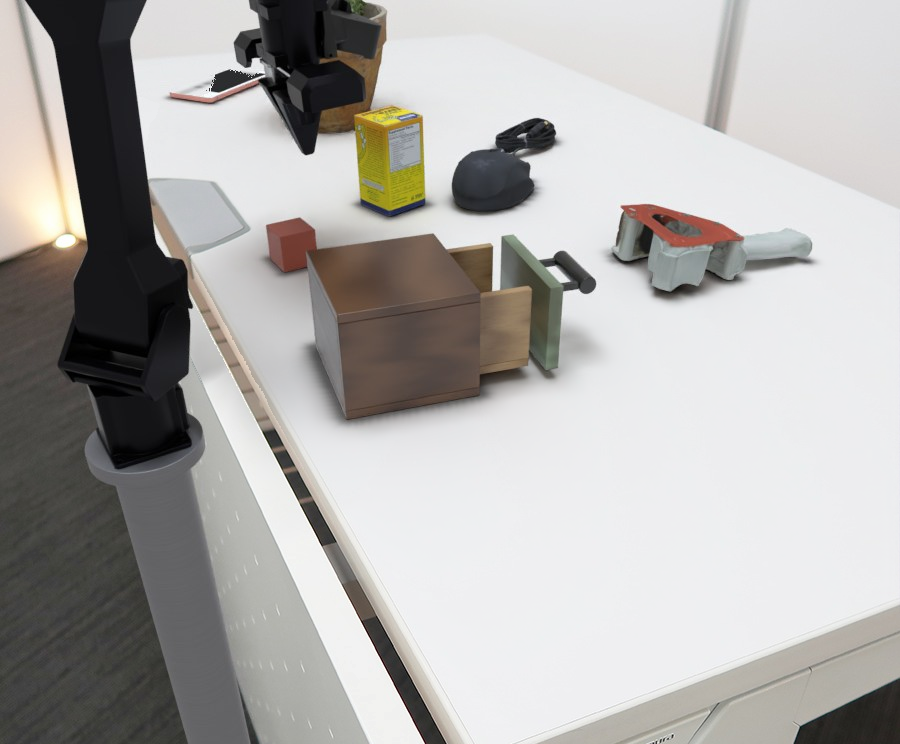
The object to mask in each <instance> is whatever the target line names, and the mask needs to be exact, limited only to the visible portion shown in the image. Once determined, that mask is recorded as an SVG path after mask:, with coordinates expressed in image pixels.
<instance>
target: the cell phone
mask: <svg viewBox="0 0 900 744" xmlns="http://www.w3.org/2000/svg"><path fill="white" fill-rule="evenodd" d="M230 70H231V69H229V68H227V69H224V70H222V71H218V72H216V73H217V74H216V73H214V74H215V77H214V78H215V79H216V80H215V79H214V82H213V80H212V82H213V83H214V84H213V86H212V84H211V86H212V88H211V93H210V88H209V93H208V94H204V97H200V96H193V95H186V94H179V93H172V92H169V96H170V97H171V98H174V99H175V98H176V99H183V100H190V101H196V102H202V103H214V102H216V101H219V100H222V99H223V98H225V97H226V98H227V97H229V96H231V95H233V94H236V93H238V92H240V91H243V90H245V89H248V88H251V87H253V86H255V85H257V84H258V85H259V83H258V80H259V79H260V78H261V77H262V78H265V70H264V69H262V70H263V71H259V74H257V73H258V72H257V73H256V74H255V76H254V75H253V76H251V75H250V74H249V75H250V76H249V75H248V74H247V75H246V73H244V74H243V73H242V72H241V71H240V72H238V71H236V70H235V71H236V73H235V71H233V70H231V71H230ZM240 73H241V74H240ZM248 76H249V77H248ZM251 77H252V78H251ZM258 78H259V79H258ZM255 79H257V80H255ZM253 80H255V81H253ZM251 81H252V82H251ZM249 82H250V83H249ZM244 84H245V85H244ZM206 91H207V90H206ZM202 96H203V95H202ZM207 97H208V98H207ZM211 97H212V98H211Z"/></svg>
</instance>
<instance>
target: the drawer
mask: <svg viewBox="0 0 900 744" xmlns="http://www.w3.org/2000/svg"><path fill="white" fill-rule="evenodd" d="M500 237H501V238H500V239H501V240H500V241H501V242H500V243H501V244H500V275H499V276H500V278H499V289H498V290H493V276H494V269H493V268H494V245H493V244H492V243H491V242H488V243H480V244H474V245H467V246H460V247H459V246H458V247H452V248H446V250H447V251H448V252H449V254H450V255H451V256H452V257H453V259H454V260H455V261H456V262H457V264H458V265H459V266H460V267H461V269H462V270H463V271H464V273H465V274H466V275H467V276H468V278H469V279H470V280H471V281H472V283H473V284H474V285H475V286H476V288H477V289H478V290H479V292H480V293H481V300H480V302H481V308H480V375H485V374H488V373H489V374H490V373H495V372H501V371H506V370H513V369H517V368H524V367H529V361H530V360H529V359H530V358H529V356H530V353H531V355H533V356H534V358H535V359H536V360H537V361H538V363H539V364H540V365H541V366H542V368H543V369H544V370H545V371H549V370H553V369H558V368H559V356H560V343H561V328H562V314H563V301H564V292H570V291H576V290H578V291H579V292H580V293H581V294H583V295H589V294H591V293H593V292H594V291H595V290H596V287H597V281H596V279H595V278H594V277H593V275H591V274H590V273H589V272H588V270H586V269H585V268H584V267H583V266H582V265H581V264H580V263H579V262H578V261H577V260H576V259H575V258H574V257H573V256H572V255H570V254H569V253H568V251H565V250H559V251H557V252H555V254H554V255H553V256H552V257H550V258H549V257H548V258H542V259H538V258H537V257H536V256H535V255H534V254H533V253H532V252H531V251H530V249H528V247H526V246H525V245H524V244H523V243H522V242H521V241H520V239H519V238H518V237H517V236H516V235H515V234H513V233H512V234H506V235H501V236H500ZM551 267H552V268H553V267H556V268H557V269H558V270H559V272H561V274H562V275H563V276H564V277H565V278H566V279H567V280H568V281H566V282H560V281H559V280H558V279H557V277H555V276H554V275H553V274H552V273H551V272H550V271H549V270H548V268H551Z"/></svg>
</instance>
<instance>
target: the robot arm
mask: <svg viewBox="0 0 900 744" xmlns="http://www.w3.org/2000/svg"><path fill="white" fill-rule="evenodd" d="M147 1H148V0H24V2H25V3H26V5H27V6H28V7H29V9H30V11H32V13H33V15H34V16H35V18H36V19H37V20H38V22H39V24H40V25H41V26H42V28H43V30H45V32H46V34H47V35H48V36H49V38H50V40H51V42H52V45H53V49H54V54H55V59H56V66H57V72H58V79H59V84H60V85H59V86H60V90H61V96H62V103H63V108H64V113H65V114H64V115H65V119H66V120H65V121H66V124H67V132H68V137H69V144H70V149H71V155H72V162H73V167H74V173H75V180H76V185H77V190H78V196H79V202H80V209H81V214H82V215H81V216H82V221H83V227H84V232H85V238H86V251H85V252H84V255H83V257H82V259H81V262H80V264H79V266H78V269H77V271H76V273H75V275H74V277H73V280H72V289H73V290H72V291H73V293H72V294H73V307H74V308H73V310H74V311H73V314H72V317H71V321H70V324H69V326H68V329H67V333H66V336H65V339H64V343H63V344H62V348H61V351H60V355H59V357H58V361H57V362H56V363H57V368H58V370H59V371H60V372H61V373H62V375H63V376H64V378H65V379H66V380H67V382H68V383H69V382H70V383H79V384H83V385H86V387H87V390H88V394H89V399H90V401H91V405H92V409H93V413H94V415H95V419H96V423H97V427H96V429H95V430H96V432H97V435H98V437H99V439H100V441H101V443H102V445H103V447H104V449H105V451H106V453H107V455H108V457H109V459H110V461H111V463H112V464H113V466H114V468H115V469H123V468H126V467H130V466H133V465H136V464H139V463H142V462H145V461H149V460H152V459H155V458H158V457H161V456H164V455H168V454H171V453H174V452H177V451H180V450H183V449H187V448H189V447H191V446H192V440H191V438H190V436H189V435H188V433H187V432H186V430H188V429H189V428H190V422H189V417H188V413H189V412H188V409H187V404H186V403H187V402H186V399H185V394H184V389H183V387H182V385H181V384H180V382H181V381H182V380H183V379H184V378H185V377H186V376H188V375H189V372H190V353H191V352H190V351H191V349H190V348H191V325H192V323H191V317H190V315H191V314H190V310H192V309H194V304H193V302H192V300H191V296H190V292H189V271H188V267H187V265H186V263H185V260H183V259H182V258H177V257H171V256H166V254H165V253H164V251H163V250H162V249H161V248H160V245H159V244H158V242H157V238H156V232H155V231H156V230H155V223H154V215H153V209H152V201H151V193H150V186H149V178H148V177H149V176H148V170H147V161H146V154H145V146H144V138H143V132H142V123H141V116H140V108H139V101H138V93H137V85H136V78H135V77H136V76H135V71H134V63H133V55H132V54H133V53H132V45H131V43H132V42H131V41H132V40H131V39H132V36H133V34H134V32H135V30H136V27H137V24H138V23H139V20H140V17H141V15H142V13H143V10H144V8H145V6H146V4H147ZM248 4H249V9H250V10H251V11H253V12H255V13H256V14H257V18H258V26H259V27H257V28H252V29H246V30H242V31H241V30H240V31H239V32H238V34H237V36H236V38H235V40H234V41H233V48H234V49H233V50H234V54H235V60H236V62H237V64H239V65H240V66H241V67H242V68H249V69H250V68H252V64H253V59H258V60H259V63H260V64H261V65H263V70H264V71H265V78H260V79H259V80H258V85H259V86H260V87H261V88H262V90H263V91H264V94H265V95H266V96H267V98H268V100H269V101H270V103H271V104H272V106H273V108H274V109H275V111H276V113H277V114H278V115H279V118H280V119H281V121H282V123H283V125H285V127H286V129H287V131H288V133H289V134H290V135H291V137H292V139H293V141H294V143H295V145H296V146H297V148H298V149H299V151H300V152H301V154H303V155H304V156H310V155H314V154H315V151H316V146H317V139H318V134H319V133H318V129H319V123H320V118H321V113H322V111H324V110H328V109H333V108H337V107H341V106H346V105H350V104H355V103H359V102H364V101H365V100H366V88H365V78H364V77H363V76H362V75H360V74H359V73H358V72H357V71H356V70H355V69H353V68H351V67H350V66H348V65H346V64H345V63H343V62H342V61H340V60H336V61H331V62H326V63H324V62H320V59H324V58H325V59H332V58H337V57H338V54H337V50H339V51H343V52H348V53H353V54H357V55H362V56H364V58H366V59H371V60H374V59H375V55H376V50H377V46H378V41H379V37H380V32H381V27H382V25H380V24H378V23H376V22H374V21H372V20H370V19H368V18H366V17H364V16H361V15H359V14H356V13H354V14H353V13H352V9H351V4H350V2H349V1H347V0H248Z"/></svg>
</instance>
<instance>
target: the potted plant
mask: <svg viewBox="0 0 900 744" xmlns="http://www.w3.org/2000/svg"><path fill="white" fill-rule="evenodd" d="M347 1H349V2H350V4H351V9H352V13H353V14H354V13H356V14H359V15H361V16H364V17H366V18H368V19H370V20H372V21H374V22H376V23H378V24H380V25H382V27H381V32H380V37H379V41H378V46H377V50H376V55H375V59H374V60H371V59H366V58H364V56H362V55H357V54H353V53H348V52H343V51H339V50H337V54H338V57H337V58H332V59H325V58H324V59H320V62H324V63H326V62H331V61H336V60H340V61H342V62H343V63H345V64H346V65H348V66H350V67H351V68H353V69H355V70H356V71H357V72H358V73H359V74H360V75H362V76H363V77H364V78H365V88H366V100H365V101H364V102H359V103H355V104H350V105H346V106H341V107H337V108H333V109H328V110H324V111H322V113H321V118H320V123H319V129H318V134H341V133H346V132H351V131H355V120H354V115H357V114H361V113H365V112H369V111H371V109H372V104H373V101H374V97H375V92H376V88H377V83H378V78H379V71H380V67H381V64H382V59H383V49H384V45H385V44H386V42H387V16H388V15H387V14H388V10H387V9H386V7H385V6H383V5H380V4H376V3H373V2H367V1H364V0H347Z"/></svg>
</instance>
